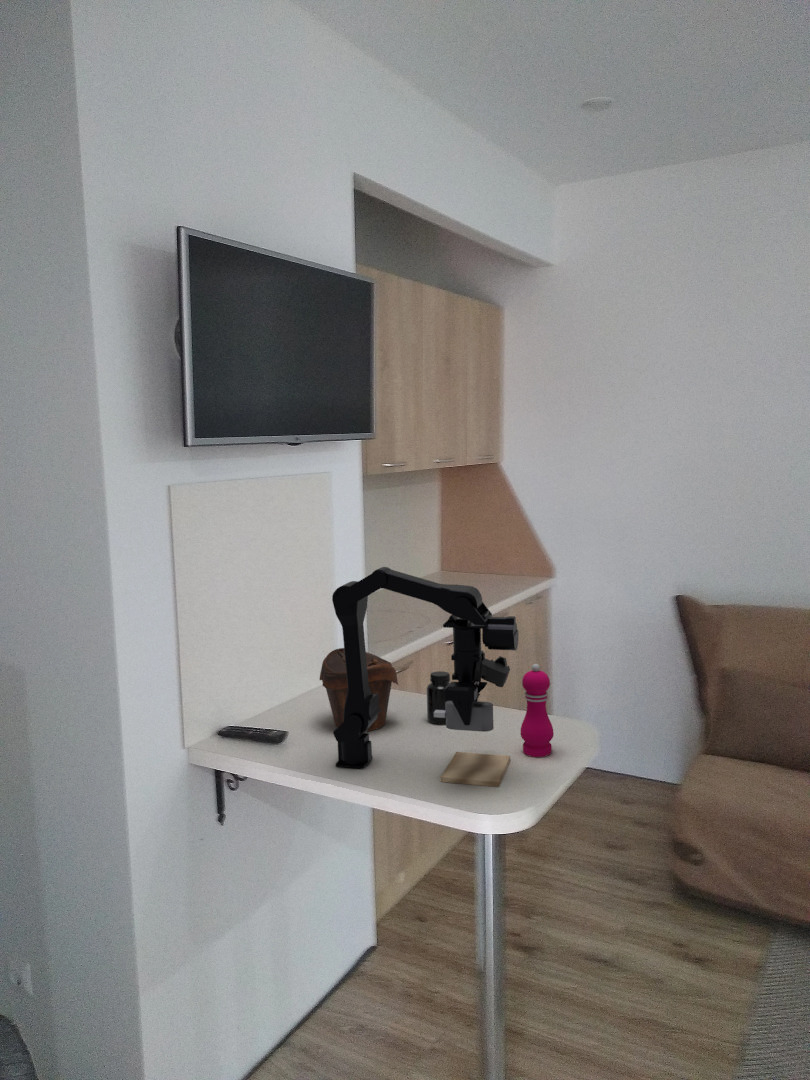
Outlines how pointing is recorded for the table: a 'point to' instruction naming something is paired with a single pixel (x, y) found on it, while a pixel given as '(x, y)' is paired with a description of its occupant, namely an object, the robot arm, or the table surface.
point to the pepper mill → (536, 714)
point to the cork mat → (476, 769)
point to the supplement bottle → (437, 695)
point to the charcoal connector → (479, 717)
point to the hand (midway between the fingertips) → (469, 721)
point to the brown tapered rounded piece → (337, 687)
